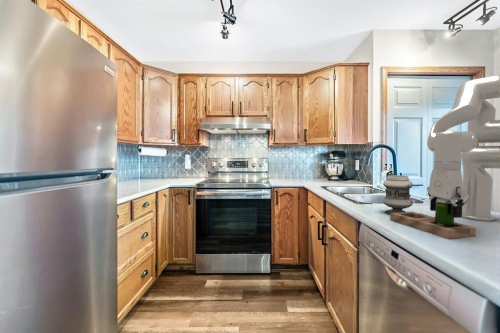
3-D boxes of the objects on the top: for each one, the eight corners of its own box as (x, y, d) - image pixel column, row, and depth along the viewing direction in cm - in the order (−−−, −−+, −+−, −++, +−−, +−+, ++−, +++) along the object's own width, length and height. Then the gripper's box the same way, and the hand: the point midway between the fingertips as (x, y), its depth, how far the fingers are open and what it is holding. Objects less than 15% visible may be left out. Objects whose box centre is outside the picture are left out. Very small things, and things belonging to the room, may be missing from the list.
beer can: (450, 235, 83) (451, 201, 83) (431, 231, 88) (433, 198, 87) (456, 232, 86) (457, 199, 86) (437, 228, 91) (439, 197, 90)
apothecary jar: (378, 210, 121) (379, 174, 120) (404, 211, 119) (405, 174, 118) (388, 216, 109) (390, 176, 108) (417, 217, 107) (419, 177, 106)
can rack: (389, 220, 103) (390, 213, 103) (412, 218, 106) (412, 211, 106) (448, 239, 80) (449, 230, 79) (475, 236, 82) (476, 227, 82)
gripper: (419, 165, 94) (417, 208, 95) (456, 167, 77) (454, 220, 78) (438, 165, 94) (437, 208, 95) (480, 167, 77) (477, 220, 78)
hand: (444, 213), depth 87 cm, fingers open, 9 cm apart
